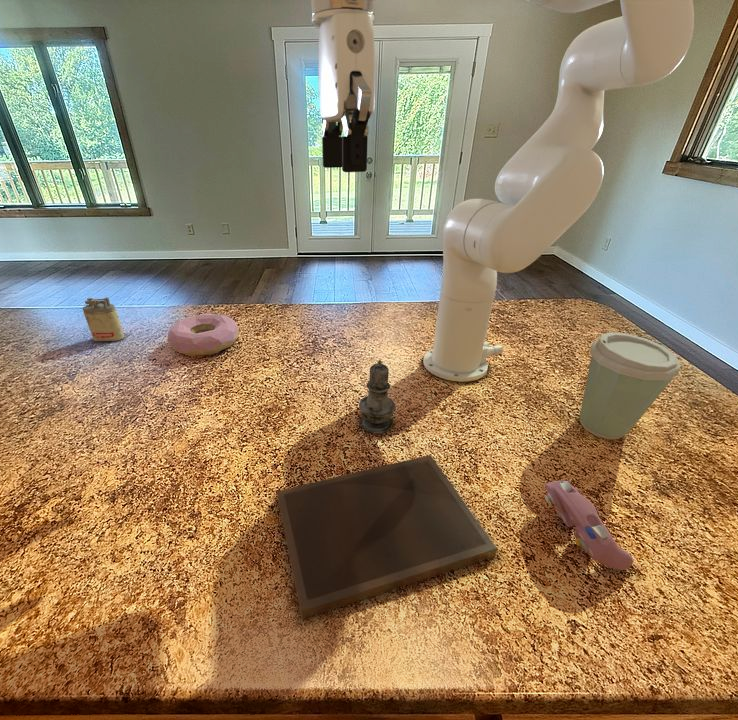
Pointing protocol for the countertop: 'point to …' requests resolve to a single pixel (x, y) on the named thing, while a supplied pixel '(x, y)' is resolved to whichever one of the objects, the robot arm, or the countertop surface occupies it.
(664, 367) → the disposable coffee cup
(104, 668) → the countertop surface
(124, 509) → the countertop surface
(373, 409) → the stone chess piece
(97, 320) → the lighter
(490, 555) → the board
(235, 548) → the countertop surface
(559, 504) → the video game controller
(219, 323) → the donut
